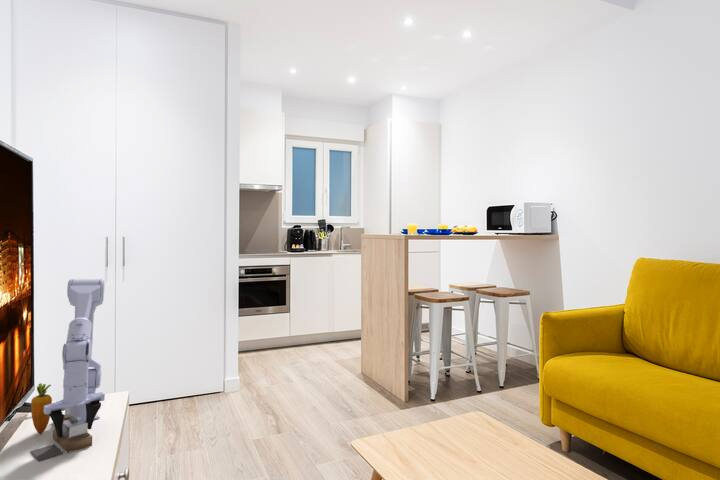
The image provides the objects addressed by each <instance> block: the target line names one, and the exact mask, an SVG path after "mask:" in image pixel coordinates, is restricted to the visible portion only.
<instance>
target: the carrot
mask: <svg viewBox="0 0 720 480" xmlns="http://www.w3.org/2000/svg"><path fill="white" fill-rule="evenodd" d="M51 386H52V385H51V384H48V385H47V384H46V383H41V382H40V383H39V384H38V386H36V391H37V393H38V395H36V396H33V397H32V399H31V403H30V404H31V405H30V406H31V408H30V409H31V410H30V412H31V419H32V423H33V427H34V429H35V430H36V432H37V434H38V435H40V436H41V435H42V434H43V433H44V432H45V430H46V429H47V426H48V425H49V421H50V419H51V417H50V415H49V414H47V415H46V414H45V413H44V406H45V405H48V404H52V403H53V398H52V396H51V395H50V394H46V393H47V392H48V391H47V390H48V389H49V388H50V387H51Z"/></svg>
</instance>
